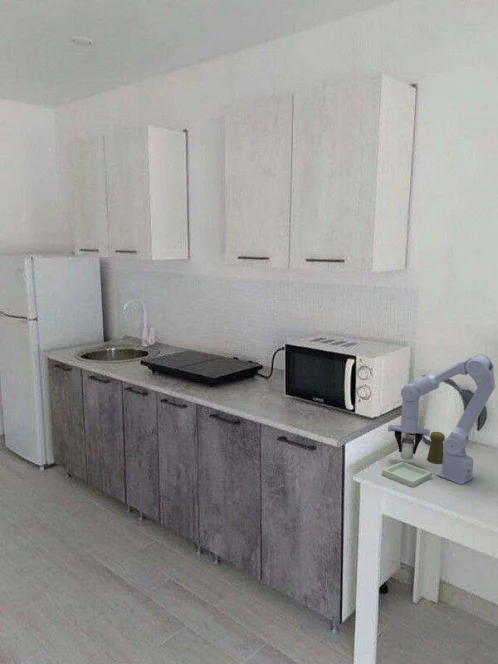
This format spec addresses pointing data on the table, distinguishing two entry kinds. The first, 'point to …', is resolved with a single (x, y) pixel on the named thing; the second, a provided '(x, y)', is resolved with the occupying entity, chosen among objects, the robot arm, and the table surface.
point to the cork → (436, 448)
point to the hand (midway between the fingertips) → (407, 452)
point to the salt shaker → (407, 448)
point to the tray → (407, 474)
